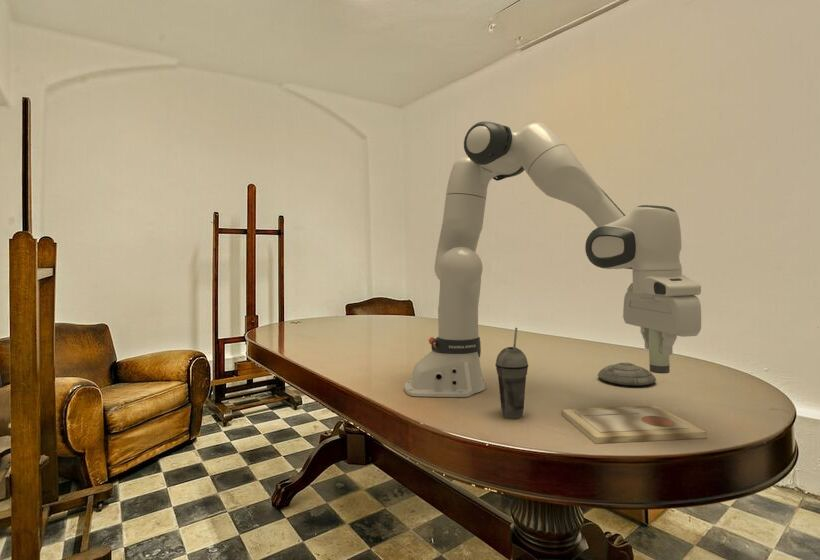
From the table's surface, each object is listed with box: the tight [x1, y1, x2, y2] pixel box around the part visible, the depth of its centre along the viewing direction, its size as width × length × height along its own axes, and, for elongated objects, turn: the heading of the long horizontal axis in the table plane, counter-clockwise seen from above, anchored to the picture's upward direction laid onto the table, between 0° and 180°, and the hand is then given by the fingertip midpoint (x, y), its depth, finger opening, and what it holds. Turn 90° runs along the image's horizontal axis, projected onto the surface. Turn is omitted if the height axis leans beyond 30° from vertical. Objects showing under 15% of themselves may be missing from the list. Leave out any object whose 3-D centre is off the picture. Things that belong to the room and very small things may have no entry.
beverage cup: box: [495, 327, 529, 420], centre depth 100 cm, size 7×7×20 cm
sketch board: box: [561, 405, 708, 444], centre depth 93 cm, size 22×16×2 cm
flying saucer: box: [597, 362, 657, 386], centre depth 127 cm, size 15×15×6 cm
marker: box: [648, 329, 671, 375], centre depth 91 cm, size 4×4×11 cm
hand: (658, 351), depth 91 cm, fingers closed on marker, 4 cm apart
